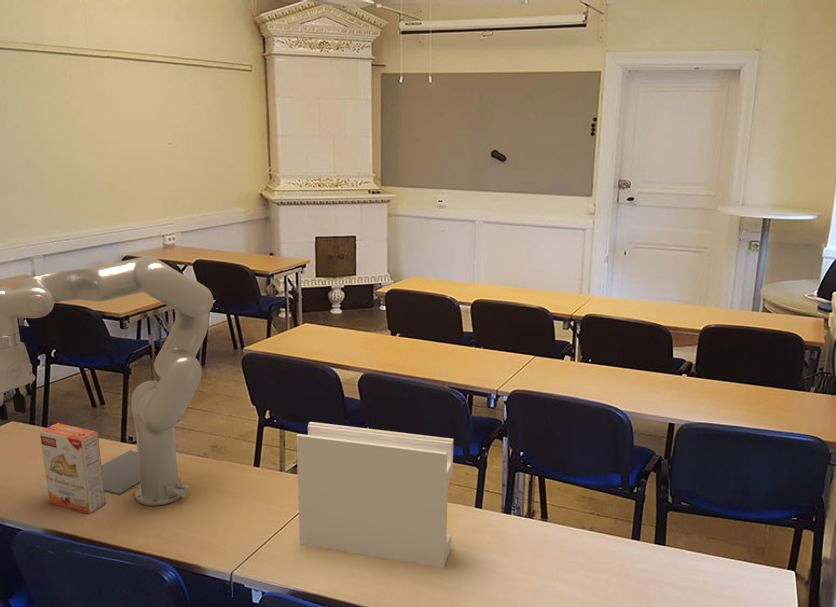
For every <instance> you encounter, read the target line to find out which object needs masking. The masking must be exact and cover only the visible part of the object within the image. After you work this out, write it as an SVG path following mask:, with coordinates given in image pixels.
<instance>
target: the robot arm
mask: <svg viewBox="0 0 836 607" xmlns="http://www.w3.org/2000/svg"><path fill="white" fill-rule="evenodd" d="M140 293H145V294H147V295H148V296H150V297H151V298H153V299H155V300H157V301H159V302H160V303H162V304H164V305H165V306H167V307H170V308H171V309H174V311H175V312H174V313H175V318H174V322H173V326H172V327H171V330H170V332H169V334H168V335H167V338H166V339H165V341H164V342H163V344H162V347H160V348H161V349H160V350H159V351H158V354H157V356H156V358H154V359H155V360H154V362H153V367H154V371H155V373H156V374H157V375H158V377H159V381H157V380H147V381H144V382H142V383H140V384H139V385H138V386H136V387H135V389H134V390H133V392H132V395H131V400H130V403H131V404H130V406H131V412H132V416H133V421H134V422H133V423H134V428H135V429H134V430H135V438H136V447H137V448H136V449H137V452H138V460H139V471H140V482H141V483H140V487H139V488H138V489H137V490H136V491H135V494H134V495H135V500H136V502H137V503H139V504H142V505H144V506H151V507H153V506H154V507H155V506H164V505H168V504H171V503H173V502H175V501H176V502H177V500H179V499H180V498H185V497H186V496H187V492H188V491H189V489H190V488H189V485H185V484H184V482H182V477H179V473H178V472H179V471H178V460H177V459H178V457H177V446H176V434H175V433H176V432H175V425H176V424H177V423H179V422H180V420H181V418H182V417H183V415H184V414H185V411H186V409H187V408H188V406H189V405H190V401H191V400H192V399H193V396H194V394H195V393H196V390H197V388H199V384H200V382H201V379H202V372H203V370H202V365H201V364H200V361H199V360H198V358H196V356H198V353H199V351H200V348H201V346H202V344H203V342H204V339H205V338H206V335H207V333H208V330H209V323H210V322H209V321H210V319H209V318H210V316H209V312H210V311H211V310H212V309H213V305H214V297H213V294H212V292H211V290H210V289H209V288H208V287H206V286H205V285H204V284H202V283H201V282H199V281H197V280H195V279H194V278H191V277H188V276H187V275H185V274H183V273H181V272H180V271H178V270H176V269H174V268H173V267H171V266H170V265H169V264H167V263H165V262H163V261H161V259H158V258H156V257H154V256H142V257H141V256H140V257H135V258H131V259H127V260H122V261H117V262H112V263H108V264H103V265H98V266H94V267H93V266H91V267H84V268H77V269H76V268H75V269H68V270H61V271H54V272H49V273H44V274H40V275H36V276H31V277H27V278H24V279H22V280H20V281H19V282H17V284H16V285H15V286H14V288H13V289H12V288H11V287H8V286H4V285H3V286H1V285H0V421H7V420H8V419H9V416H8V410H7V404H6V403H4V396H5V395H4V394H5V393H7V392H10V391H13V393H14V395H13V396H12V400H13V401H12V402H13V410H14V412H17V413H21V414H25V413H27V402H26V396H27V395H28V390H29V389H30V387H31V385H32V384H33V382H35V380H36V376H35V375H34V373H33V370H32V364H31V360H30V355H29V353H28V351H27V347H26V345H25V343H24V342H23V341H21V337H20V330H19V323H18V319H38V318H43V317H45V316H47V315H49V313H51V312H52V311H53V309H54V306H55V304H56V303H60V302H65V301H66V302H67V301H73V300H74V301H76V300H77V301H79V300H81V301H89V302H99V303H100V302H107V301H111V300H115V299H118V298H124V297H127V296H131V295H136V294H137V295H138V294H140Z"/></svg>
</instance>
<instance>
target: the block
mask: <svg viewBox="0 0 836 607" xmlns="http://www.w3.org/2000/svg"><path fill="white" fill-rule="evenodd" d="M295 437H296V463H297V464H296V466H297V467H296V470H297V496H298V500H297V501H298V522H299V524H298V525H299V544H300V545H304V546H308V547H315V548H320V549H327V550H334V551H340V552H346V553H351V554H357V555H359V554H360V555H364V556H370V557H375V558H381V559H389V560H393V561H401V562H406V563H412V564H417V565H418V564H419V565H425V566H431V567H438V568H444V567H445V565H446V563H447V559H448V556H449V554H450V551H451V548H452V534H450V533H449V534H448V532H447V531H448V491H449V490H448V489H449V484H450V481H451V479H452V476H453V475H454V469H453V466H454V438H450V437H440V436H431V435H423V434H415V433H406V432H398V431H391V430H382V429H375V428H374V429H373V428H366V427H365V428H364V427H356V426H349V425H339V424H330V423H324V422H314V421H309V422H308V425H307V434H302V433H297V434H296V435H295Z"/></svg>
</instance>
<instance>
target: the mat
mask: <svg viewBox="0 0 836 607" xmlns="http://www.w3.org/2000/svg"><path fill="white" fill-rule="evenodd" d="M101 466H102V475H103V484H104V493H108V494H112V495H116V496H119V497H120V496H121V495H123V494H125V493H126V492H129V491H130V490H132V489H133V488H135V487H136V486H138V485H141V482H140V471H139V460H138V451H134V450H131V449H130V450H128V451H126V452H124V453H122V454H120V455H118V456H117V457H115V458H113V459H111V460H109V461H107V462H106V463H104V464H101Z"/></svg>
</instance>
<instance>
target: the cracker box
mask: <svg viewBox="0 0 836 607" xmlns="http://www.w3.org/2000/svg"><path fill="white" fill-rule="evenodd" d="M39 434H40V435H39V436H40V442H41V450H42V457H43V465H44V466H43V467H44V470H45V471H44V474H45V479H46V481H45V482H46V489H47V496H48V502H49V503H50V504H52V505H56V506H58V507H63V508H66V509H70V510H73V511H76V512H81V513H85V514H87V515H90V514H92V513H94V512H95V511H97V510H99V508H101V507H103V506H105V505H106V504H107V503H106V495H105V493H106V492H105V491H104V484H103V475H102V466H101V465H102V458H101V450H100V448H101V447H100V441H99V440H100V439H99V432H98V431H96V430H91V429H86V428H81V427H76V426H72V425H68V424H63V423H60V422H57V423H55V424H53V425H50V426H48V427H46V428H43V429H42V430H40V431H39Z"/></svg>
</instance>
